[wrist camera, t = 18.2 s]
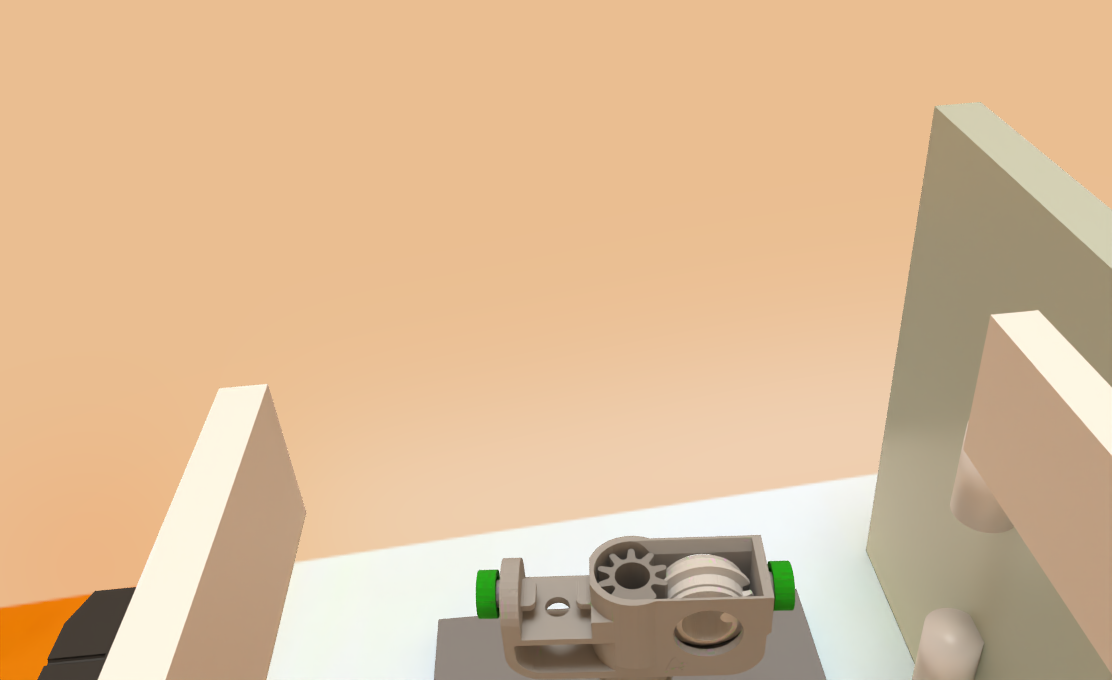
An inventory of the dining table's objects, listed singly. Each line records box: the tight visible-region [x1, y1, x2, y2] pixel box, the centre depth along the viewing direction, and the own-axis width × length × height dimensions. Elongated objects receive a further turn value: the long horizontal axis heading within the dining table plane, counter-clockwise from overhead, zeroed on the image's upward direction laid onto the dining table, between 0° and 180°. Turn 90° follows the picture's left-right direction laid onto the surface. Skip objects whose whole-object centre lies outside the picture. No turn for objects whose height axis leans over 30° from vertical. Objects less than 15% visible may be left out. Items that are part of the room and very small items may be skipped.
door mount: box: [434, 102, 1112, 680], centre depth 31 cm, size 22×20×22 cm
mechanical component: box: [476, 535, 795, 680], centre depth 33 cm, size 3×10×10 cm, turn 89°
